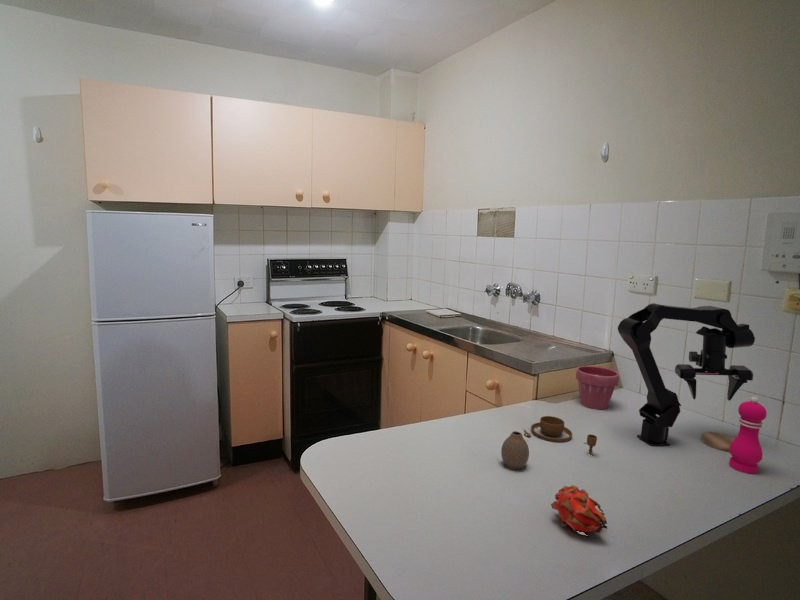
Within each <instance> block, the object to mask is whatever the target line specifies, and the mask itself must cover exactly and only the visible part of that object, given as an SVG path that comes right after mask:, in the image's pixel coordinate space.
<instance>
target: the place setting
mask: <svg viewBox="0 0 800 600" xmlns="http://www.w3.org/2000/svg"><path fill="white" fill-rule="evenodd" d="M539 421H540V422H536V423H533V424H532V425H530V431H531V433H532V434H533V435H534V436H535V437H537V438H539V439H541V440H543V439H544V441H548V442H552V443H563V442H564V443H565V442H568V441H570V440H571V439H572V437H573V432H572V430H570V429H569V428H568V427H566V426H565V421H564V420H563V419H561V418H559V417H556V416H551V415H545V416H541V417H540V419H539ZM538 427H540V430H541V431H542V432H543V434H545V435H543V434H541V433H538V432H537V431H535V430H536V429H539V428H538ZM535 428H536V429H535ZM534 429H535V430H534ZM523 431H524V436H525V437H527V438H531V436H532V435H531V433H529V432H527V430H526V429H525V430H523ZM562 433H565V434H566V435H567V434H568V435H569V437H568V435H567V437H562V438H559V437H558V436H559V435H561V434H562ZM526 434H527V435H526ZM597 440H598V436H597V435H594V434H587V437H586V442H585V444H587V446H589V449H587V450H588V454H590V455H592V456H593V451H594V450H593V448H594V447H596V445H597Z"/></svg>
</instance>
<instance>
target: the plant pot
mask: <svg viewBox="0 0 800 600" xmlns="http://www.w3.org/2000/svg"><path fill="white" fill-rule="evenodd" d="M575 373H576V374H575V379H576V380H577V382H578V391H579V399H580V404H581V405H583V406H584V407H586V408H590V409H594V410H606V409H608V407H609V404H610V402H611V399H612V396H613V393H614V391H615V387H616V386H618V384H619V379H620V378H619V377H620V374H619V371H618V372H617V371H616V370H613V369H610V368H607V367H604V366H602V367H601V366H596V365H595V366H594V365H580V366H578V367H577V368H576V371H575Z"/></svg>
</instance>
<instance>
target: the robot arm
mask: <svg viewBox="0 0 800 600" xmlns="http://www.w3.org/2000/svg"><path fill="white" fill-rule="evenodd" d="M665 319H666V320H674V321H675V320H676V321H677V320H678V321H687V322H694V323H700V324H703V326H701V328H700V329H698V330H697V331H695V334H697V335H698V336H699V335H700V336H703V337H702V349H700V354H699V353H698V351H689V352H688V361H689V362H690V363H695V366H698V367H694V366H693V365H691V364H685V363H684V364H681V363H678V364H676V365H675V367H674V373H675V375H677V376H678V377H679V378H680V379H683V381H684V382H686V383H687V386H688V388H689V391H690V394H691V396H692V397H691V398H692V399H693V400H696V398H697V379H696V375H697V376H699V375H700V376H701V375H702V376H727V377H728V386H727V393H726V394H727V397H726V398H727V401H729V402H731V400H732V399H733V398H734V396H735V394H736V393H737V391H739V389H740V388H741V387H742V385H744V384H747V383H748V381H753V380H754V372H753V371H752V370H751V369H750V368H748V367H747V366H745V365H733V364H732V365H730V366H729V368H726V360H727V359H728V354H726V351H727V348H728V349H737V348H747V347H751V346H753V345H754V344H755V341H756V337H755V334H754V332H753V331H752V330H751V329H750V324H747V323H738V324H737V322H736V321H735V319H734V318H733V316H732V313H731V311H730V310H729V309H727V308H724V307H718V306H713V305H704V306H702V305H701V306H697V307H685V306H676V305H675V306H674V305H666V304H659V303H655V302H653V303H650V304H648V305H646V306H645V307H644V308H642V309H640V310H638V311H635V312H634V313H632V314H630V315H629V316H628V317H627V318H623V319H622V320H621V321H620V322H619V324H618V326H617V332H618V333H619V335H620V337H621V338H622V340H623V342H624V343H625V344H626V345H627V346H628V347H629V348H630V349H631V350H632V353H633V356H634V359H635V361H636V363H637V365H638V368H639V371H640V374H641V376H642V379H643V381H644V384H645V386H646V389H647V394H646V401H647V402H646V403H645V404H644V405H643V406H641V407H640V408H639V409H638V412H639V416H640V417H642V418H643V419H642V422H641V423H642V424H641V430H640V431H641V432H640V434H637V435H636V437H637V438H639V439H640V440H642V442H645V443H646V444H647V445H649V446H657V447H658V446H670V445H671V443H670V442H668V439H669V431H670V428H673V427H674V425H675V422H676V420H677V419H678V416H679V415H680V413H681V407H682V404H681V402H680V401H679V398H678V395H677V393H676V392H674V391H672V390H670V389H668V388H666V386H665V383H664V380H663V378H662V376H661V373H660V369H659V368H658V364H657V362H656V360H655V358H654V355H653V352H652V350H651V342H652V335H651V334H652V333H653V332H654V331H655V330H656V329H657V328H658V326H659V324H660V322H661V321H662V320H665ZM704 325H706V326H704ZM707 326H710V327H714V328H709V327H707ZM700 367H701V368H700Z"/></svg>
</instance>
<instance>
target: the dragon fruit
mask: <svg viewBox="0 0 800 600" xmlns="http://www.w3.org/2000/svg"><path fill="white" fill-rule="evenodd" d="M554 499H555V501H553V502H552V503H551V504H550V505H551V508H552V509H553V510H556V511H558V515H559V517H558V518H559V521H560V525H561V527H566V526H567V525H568V526H569V527H571V529H572V530H573V531H574V532H575V533H577V532H576V531H579V532H585V534H586V535H588V536H591V535H589V534H588V533H590V532H592V533H598V534H601V533H602V531H603V528H604V529H606V530H608V526H607V524H608V521H607V518H606V516H605V512H604V511H603V509H601V507H602V506H601V505H600V504H599V503H598V501H596V500H594V499H593V498H591V497H589V493H588V492H587V491H586V490H585V489H583V488H582V489H579V487H578V486H576V485H574V484H573V485H570V486H567V485H564V486H563V487H562V488H560V489H559V490H558V492H557V493H555V494H554ZM596 506H597V508H598V509H597V508H596Z"/></svg>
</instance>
